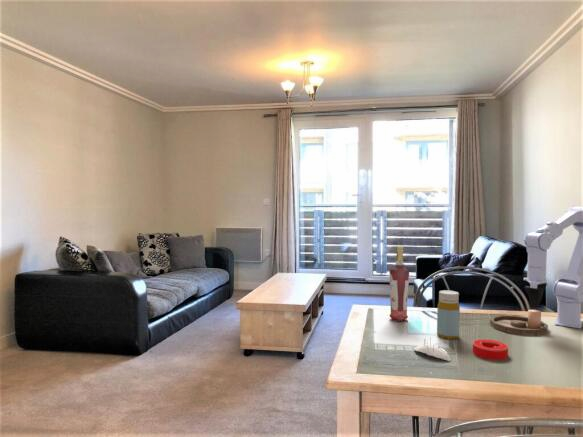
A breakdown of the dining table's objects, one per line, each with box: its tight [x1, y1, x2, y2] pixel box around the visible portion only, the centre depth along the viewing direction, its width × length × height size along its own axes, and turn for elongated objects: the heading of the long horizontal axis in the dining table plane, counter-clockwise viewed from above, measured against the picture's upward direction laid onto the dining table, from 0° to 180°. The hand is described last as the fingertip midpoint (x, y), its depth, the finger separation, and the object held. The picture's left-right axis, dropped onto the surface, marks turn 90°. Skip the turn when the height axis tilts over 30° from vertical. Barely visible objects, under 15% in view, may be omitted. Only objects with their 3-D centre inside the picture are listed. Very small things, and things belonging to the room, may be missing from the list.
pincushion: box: [413, 337, 451, 362], centre depth 131 cm, size 12×6×6 cm, turn 39°
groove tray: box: [489, 314, 549, 336], centre depth 160 cm, size 18×18×2 cm
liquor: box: [389, 245, 410, 322], centre depth 168 cm, size 7×7×28 cm
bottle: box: [436, 289, 461, 340], centre depth 149 cm, size 7×7×15 cm
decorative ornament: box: [472, 339, 509, 361], centre depth 133 cm, size 10×10×3 cm
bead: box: [527, 309, 542, 329], centre depth 156 cm, size 4×4×6 cm
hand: (535, 305), depth 156 cm, fingers open, 7 cm apart
